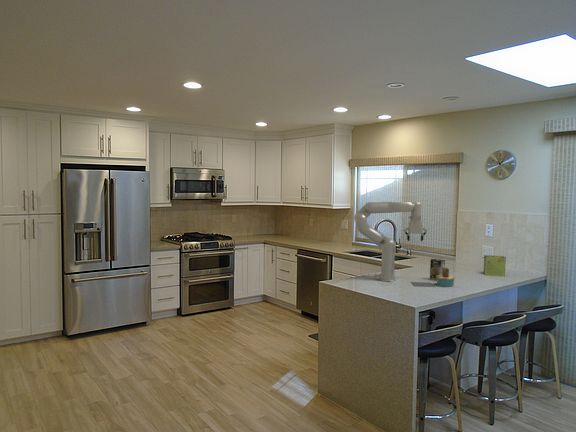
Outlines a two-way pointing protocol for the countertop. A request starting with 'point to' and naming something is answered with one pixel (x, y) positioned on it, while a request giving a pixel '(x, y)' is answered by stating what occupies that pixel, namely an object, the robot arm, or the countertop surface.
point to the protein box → (494, 265)
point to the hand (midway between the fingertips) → (415, 240)
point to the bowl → (445, 282)
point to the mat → (422, 284)
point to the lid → (445, 274)
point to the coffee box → (436, 268)
